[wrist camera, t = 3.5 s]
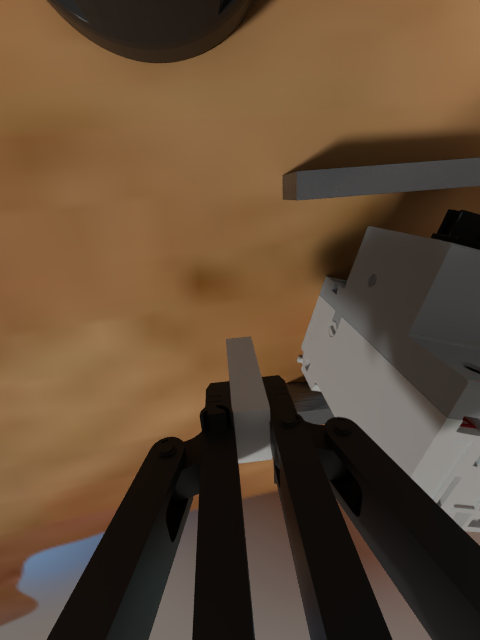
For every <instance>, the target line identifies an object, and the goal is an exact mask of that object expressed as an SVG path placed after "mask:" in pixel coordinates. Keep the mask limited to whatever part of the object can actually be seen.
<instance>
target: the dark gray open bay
mask: <svg viewBox="0 0 480 640" xmlns="http://www.w3.org/2000/svg"><path fill="white" fill-rule="evenodd" d="M472 186H480V158H467V159H454V160H440V161H427V162H414V163H400V164H387V165H374V166H361V167H347V168H334V169H321V170H307V171H296V172H293V173H289V174H286V175H283V199H284V200H308V199H321V198H333V197H346V196H358V195H371V194H384V193H396V192H409V191H421V190H434V189H447V188H459V187H472ZM286 385H287V388H288V391H289V394H290V396H291V398H292V401H293V403H294V406H295V409H296V411H297V413H298V414H299V415H301V416H302V418H303V419H304V420H305V421H307V422H309V423H313V424H318V425H319V424H325V423H326V422H327V420H329V419H331V418H333V417H334V415H333V413H332V411H331V409H330V407H329V405H328V404H327V402H326V400H325V398H324V396H323V394H322V392H319V391H313V390H311V388H310V386H309V384H308V382H299V383H290V384H286Z"/></svg>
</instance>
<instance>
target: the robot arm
mask: <svg viewBox="0 0 480 640" xmlns="http://www.w3.org/2000/svg"><path fill="white" fill-rule="evenodd" d="M47 1H48V2H49V3H50V5H51V6H52V7H53V8H54V9H55V10H56V11H57V12H58V13H59V14H60V15H61V16H62V17H63V18H64V19H65V20H66V21H67V22H68V23H69V24H70V25H71V26H72V27H74V28H75V29H76V30H77V31H78V32H80V33H81V34H82V35H84V36H85V37H86V38H88V39H89V40H91V41H92V42H94V43H95V44H97V45H99V46H100V47H102V48H104V49H106V50H108V51H110V52H112V53H115V54H117V55H120V56H122V57H125V58H128V59H132V60H136V61H141V62H148V63H170V62H177V61H182V60H186V59H189V58H192V57H195V56H197V55H200V54H202V53H204V52H206V51H208V50H210V49H211V48H213V47H214V46H216V45H217V44H219V43H220V42H221V41H222V40H224V39H225V38H226V37H227V36H228V35H229V34H230V33H232V32H233V31H234V30H235V28H236V27H237V26H238V25H239V24H240V23H241V22H242V20H243V19H244V18H245V17H246V15H247V14H248V12H249V11H250V9H251V8H252V7H253V5H254V3H255V1H256V0H47ZM226 345H227V357H228V369H229V381H227V382H218V383H210V385H209V386H208V388H207V389H206V404H205V408H204V409H203V410H202V411H201V413H200V421H201V427H202V432H201V433H200V434H199V435H197V436H196V437H194V438H192V439H190V440H188V441H185V442H183V441H182V440H181V439H179V438H176V437H167V438H164V439H161V440H159V441H158V442H156V443H155V444H154V445H153V447H152V448H151V449H150V451H149V453H148V455H147V457H146V458H145V460H144V462H143V464H142V466H141V468H140V469H139V471H138V473H137V475H136V477H135V479H134V480H133V482H132V484H131V486H130V488H129V490H128V491H127V493H126V495H125V497H124V499H123V501H122V502H121V504H120V506H119V508H118V510H117V512H116V513H115V515H114V517H113V519H112V521H111V523H110V524H109V526H108V528H107V530H106V532H105V534H104V535H103V538H102V539H101V541H100V543H99V545H98V546H97V548H96V550H95V552H94V554H93V556H92V557H91V559H90V561H89V563H88V565H87V567H86V568H85V570H84V572H83V574H82V576H81V578H80V579H79V581H78V583H77V585H76V587H75V589H74V590H73V592H72V594H71V596H70V598H69V600H68V601H67V603H66V605H65V607H64V609H63V611H62V612H61V614H60V616H59V618H58V620H57V622H56V623H55V625H54V627H53V629H52V631H51V632H50V634H49V636H48V638H47V640H148V639H149V636H150V633H151V630H152V627H153V623H154V620H155V617H156V614H157V611H158V608H159V604H160V602H161V598H162V595H163V592H164V589H165V586H166V583H167V579H168V576H169V573H170V570H171V567H172V563H173V561H174V557H175V554H176V551H177V548H178V545H179V542H180V539H181V535H182V532H183V529H184V526H185V523H186V519H187V517H188V513H189V510H190V507H191V504H192V501H193V496H195V495H197V494H199V510H198V531H197V552H196V573H195V595H194V615H193V616H194V617H193V636H192V640H255V633H254V623H253V612H252V602H251V591H250V581H249V570H248V561H247V550H246V538H245V529H244V517H243V507H242V496H241V486H240V475H239V465H238V464H239V463H247V462H255V461H264V460H272V456H273V461H274V484H275V483H277V487H278V491H279V496H280V501H281V505H282V510H283V514H284V519H285V524H286V528H287V533H288V537H289V542H290V547H291V551H292V555H293V561H294V565H295V570H296V574H297V579H298V584H299V588H300V592H301V597H302V602H303V606H304V611H305V616H306V620H307V625H308V630H309V634H310V639H311V640H392V637H391V635H390V632H389V630H388V628H387V625H386V623H385V620H384V618H383V615H382V613H381V610H380V608H379V605H378V603H377V600H376V598H375V595H374V593H373V590H372V588H371V585H370V583H369V580H368V578H367V575H366V573H365V570H364V568H363V565H362V563H361V560H360V558H359V556H358V553H357V550H356V548H355V545H354V543H353V540H352V538H351V536H350V533H349V531H348V528H347V526H346V523H345V521H344V518H343V516H342V513H341V511H340V508H339V506H338V503H337V501H338V502H339V504H340V505H341V507H342V508H343V509H344V511H345V512H346V514H347V515H348V517H349V518H350V520H351V521H352V523H353V524H354V526H355V527H356V529H357V530H358V531H359V533H360V534H361V536H362V537H363V539H364V540H365V542H366V543H367V545H368V546H369V548H370V549H371V550H372V552H373V553H374V555H375V556H376V558H377V559H378V561H379V562H380V564H381V565H382V567H383V568H384V570H385V571H386V572H387V574H388V575H389V577H390V578H391V580H392V581H393V583H394V584H395V586H396V587H397V588H398V590H399V592H400V593H401V594H402V596H403V597H404V599H405V600H406V602H407V603H408V605H409V606H410V608H411V609H412V611H413V612H414V614H415V615H416V616H417V618H418V619H419V621H420V622H421V624H422V625H423V627H424V628H425V630H426V631H427V633H428V634H429V635H430V637H431V639H432V640H480V546H479V545H478V544H477V543H476V542H475V541H474V540H473V539H472V538H471V537H470V536H469V535H468V534H467V533H466V532H465V531H464V530H463V529H462V528H461V527H460V526H459V525H458V524H457V523H456V522H455V521H454V520H453V519H452V518H451V517H450V516H449V515H448V514H447V513H446V512H445V511H444V510H443V509H442V508H441V507H440V506H439V505H438V504H437V503H436V502H435V501H434V500H433V499H432V498H431V497H430V496H429V495H428V494H427V493H426V492H425V491H424V490H423V489H422V488H421V487H420V486H419V485H418V484H417V483H416V482H415V481H414V480H413V479H412V478H411V477H410V476H409V475H408V474H407V473H406V472H405V471H404V470H403V469H402V468H401V467H400V466H399V465H398V464H397V463H396V462H395V461H394V460H393V459H392V458H390V457H389V456H388V455H387V454H386V453H385V452H384V451H383V450H382V449H381V448H380V447H379V446H378V445H377V444H376V443H375V442H374V441H373V440H372V439H371V438H370V437H369V436H368V435H367V434H366V433H365V432H364V431H363V430H362V429H361V428H360V427H359V426H358V425H357V424H356V423H355V422H353V421H352V420H350V419H347V418H344V417H333V418H331V419H329V420H327V422H326V423H325V425H318V424H313V423H309V422H307V421H305V420H304V419H303V418H302V416H301V415H299V414H298V413H297V411H296V409H295V406H294V403H293V401H292V398H291V396H290V394H289V391H288V388H287V385H286V383H285V380H283V379H282V378H281V377H280V376H279V375H276V376H267V377H261V373H260V369H259V365H258V362H257V358H256V354H255V350H254V347H253V343H252V339H251V337H242V338H232V339H226ZM336 499H337V501H336Z"/></svg>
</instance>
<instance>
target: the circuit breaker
mask: <svg viewBox="0 0 480 640" xmlns="http://www.w3.org/2000/svg"><path fill="white" fill-rule="evenodd" d="M301 348H302V350H303V352H304V353H303V355H302V357H300V356H298V358H297V362H299V363H302V365H303V366H302V368H301V370H302V372H303V374H304V376H305V378H306V380H307V382H308V384H309V386H310V388H311V390H313V391H319V392H322V394H323V396H324V398H325V400H326V402H327V404H328V405H329V407H330V409H331V411H332V413H333V415H334V417H344V418H347V419H350V420H352V421H353V422H355V423H356V424H357V425H358V426H359V427H360V428H361V429H362V430H363V431H364V432H365V433H366V434H367V435H368V436H369V437H370V438H371V439H372V440H373V441H374V442H375V443H376V444H377V445H378V446H379V447H380V448H381V449H382V450H383V451H384V452H385V453H386V454H387V455H388V456H389V457H390V458H392V459H393V460H394V461H395V462H396V463H397V464H398V465H399V466H400V467H401V468H402V469H403V470H404V471H405V472H406V473H407V474H408V475H409V476H410V477H411V478H412V479H413V480H414V481H415V482H416V483H417V484H418V485H419V486H420V487H421V488H422V489H423V490H424V491H425V492H426V493H427V494H428V495H429V496H430V497H431V498H432V499H433V500H434V501H435V502H436V503H437V504H438V505H439V506H440V507H441V508H442V509H443V510H444V511H445V512H446V513H447V514H448V515H449V516H450V517H451V518H452V519H453V520H454V521H455V522H456V523H457V524H458V525H459V526H460V527H461V528H462V529H463V530H464V531H471V532H480V215H479V214H475V213H472V212H468V211H465V210H460V211H456V210H451V209H448V211H447V213H446V215H445V217H444V220H443V222H442V224H441V226H440V228H439V230H438V232H437V234H434V233H433V234H432V236H431V238H427V237H422V236H417V235H412V234H407V233H402V232H397V231H392V230H387V229H382V228H377V227H372V226H368V227H367V230H366V233H365V235H364V238H363V241H362V243H361V246H360V248H359V251H358V254H357V256H356V259H355V261H354V264H353V267H352V269H351V272H350V275H349V277H348V280H347V281H346V280H342V279H337V278H333V277H328V276H326V277H325V280H324V283H323V286H322V289H321V292H320V295H319V297H318V300H317V303H316V306H315V309H314V312H313V315H312V318H311V320H310V323H309V326H308V329H307V332H306V335H305V338H304V341H303V343H302V346H301ZM473 519H474V520H473Z"/></svg>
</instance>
